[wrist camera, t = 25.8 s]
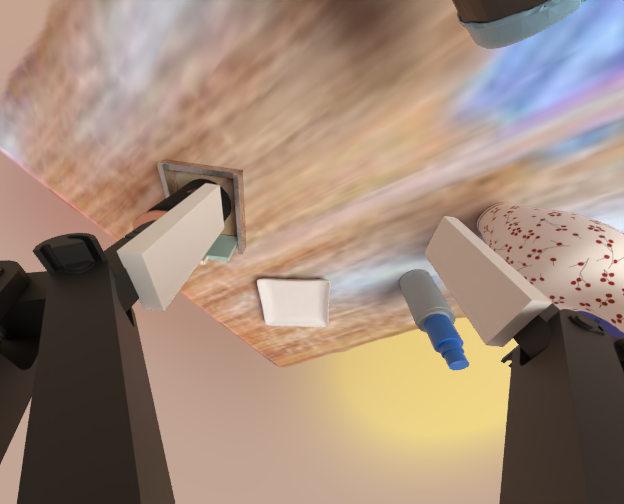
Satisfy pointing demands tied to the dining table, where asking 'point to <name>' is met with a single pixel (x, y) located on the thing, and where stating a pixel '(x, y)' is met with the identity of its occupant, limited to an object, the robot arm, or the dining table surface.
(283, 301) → the salad plate
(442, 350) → the spray bottle
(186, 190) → the coffee jar
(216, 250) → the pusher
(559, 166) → the dining table surface
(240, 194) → the open-ended rimmed tray
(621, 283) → the vase
